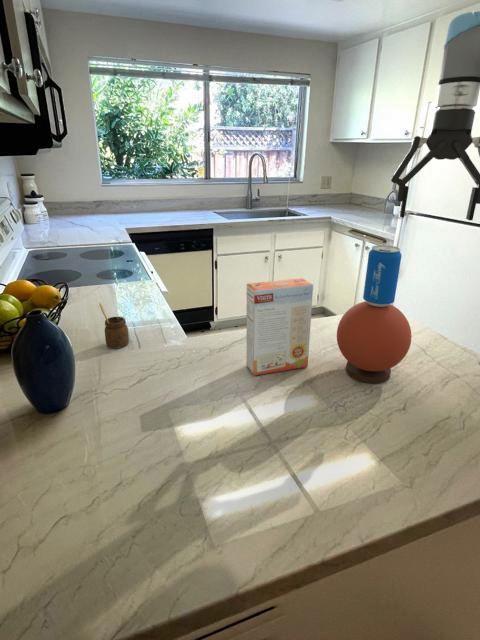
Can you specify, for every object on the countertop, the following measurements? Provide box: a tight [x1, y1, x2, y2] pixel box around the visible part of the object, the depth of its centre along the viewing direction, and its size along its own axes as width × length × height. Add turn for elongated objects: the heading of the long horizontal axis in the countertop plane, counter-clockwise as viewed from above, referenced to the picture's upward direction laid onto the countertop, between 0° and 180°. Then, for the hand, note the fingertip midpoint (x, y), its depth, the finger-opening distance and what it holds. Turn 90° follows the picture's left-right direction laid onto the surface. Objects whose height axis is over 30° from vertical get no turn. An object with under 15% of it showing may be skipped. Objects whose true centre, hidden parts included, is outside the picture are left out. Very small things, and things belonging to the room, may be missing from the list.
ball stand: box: [336, 300, 413, 385], centre depth 91 cm, size 16×16×18 cm
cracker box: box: [246, 277, 314, 377], centre depth 93 cm, size 14×6×21 cm, turn 108°
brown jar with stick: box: [98, 302, 130, 349], centre depth 105 cm, size 6×6×12 cm
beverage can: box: [362, 244, 402, 307], centre depth 85 cm, size 6×6×12 cm
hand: (434, 218), depth 88 cm, fingers open, 13 cm apart
